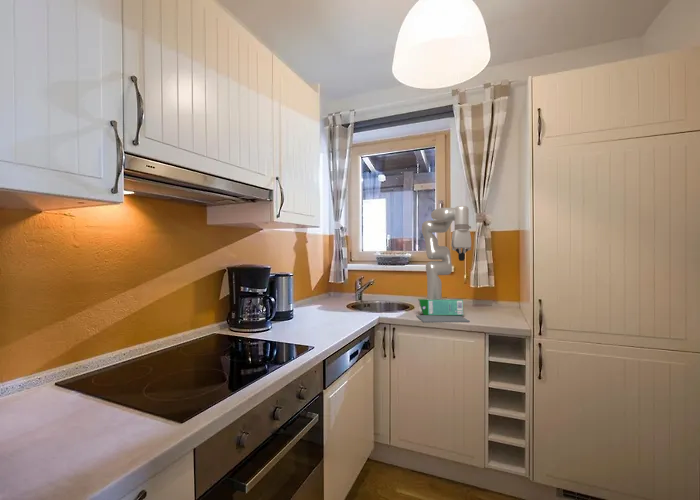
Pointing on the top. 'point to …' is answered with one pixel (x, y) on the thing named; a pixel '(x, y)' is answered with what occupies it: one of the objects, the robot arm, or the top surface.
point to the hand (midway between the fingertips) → (461, 260)
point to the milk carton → (441, 306)
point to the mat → (442, 318)
